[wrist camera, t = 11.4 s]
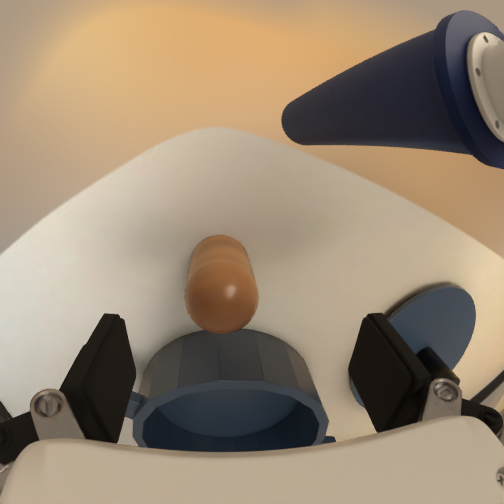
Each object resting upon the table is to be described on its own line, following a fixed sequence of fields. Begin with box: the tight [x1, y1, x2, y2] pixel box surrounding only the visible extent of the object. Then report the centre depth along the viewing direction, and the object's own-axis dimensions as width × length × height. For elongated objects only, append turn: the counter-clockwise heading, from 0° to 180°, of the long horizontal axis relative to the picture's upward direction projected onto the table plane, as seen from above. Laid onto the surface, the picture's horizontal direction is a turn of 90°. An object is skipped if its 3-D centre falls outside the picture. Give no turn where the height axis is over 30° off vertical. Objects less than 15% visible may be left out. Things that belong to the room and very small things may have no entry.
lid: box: [351, 285, 476, 408], centre depth 23 cm, size 17×17×7 cm
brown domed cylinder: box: [184, 235, 259, 334], centre depth 17 cm, size 4×4×7 cm
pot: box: [125, 329, 336, 452], centre depth 22 cm, size 16×21×6 cm
